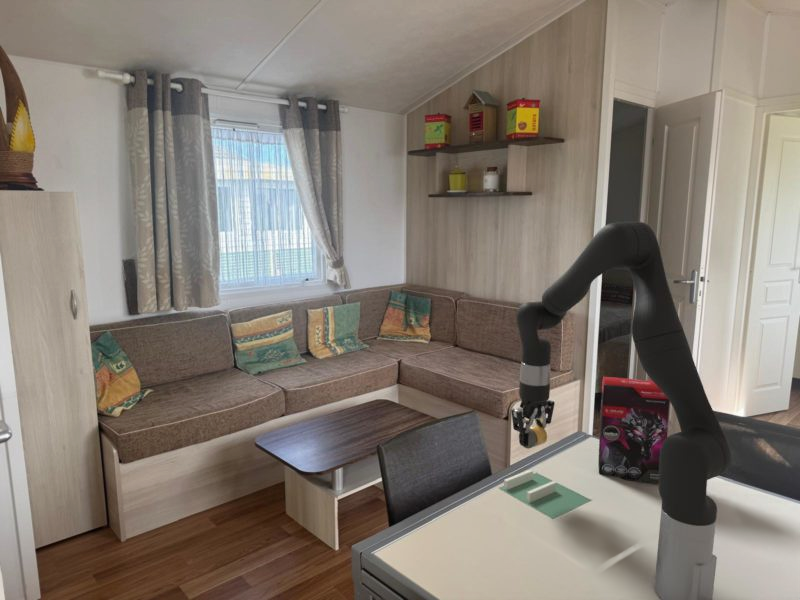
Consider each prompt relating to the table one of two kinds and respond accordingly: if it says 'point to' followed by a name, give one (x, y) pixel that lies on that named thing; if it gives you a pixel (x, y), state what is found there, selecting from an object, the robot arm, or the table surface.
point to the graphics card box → (632, 429)
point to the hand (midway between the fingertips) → (531, 442)
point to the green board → (548, 497)
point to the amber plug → (536, 436)
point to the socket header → (531, 494)
